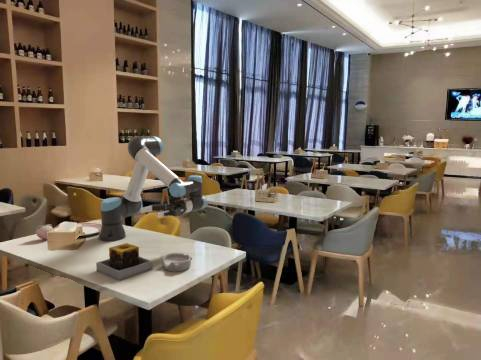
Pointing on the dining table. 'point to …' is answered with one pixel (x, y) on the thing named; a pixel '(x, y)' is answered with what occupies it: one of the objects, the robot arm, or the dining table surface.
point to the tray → (126, 273)
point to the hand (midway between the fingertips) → (149, 212)
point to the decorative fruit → (43, 231)
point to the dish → (176, 261)
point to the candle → (123, 256)
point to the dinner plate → (91, 228)
